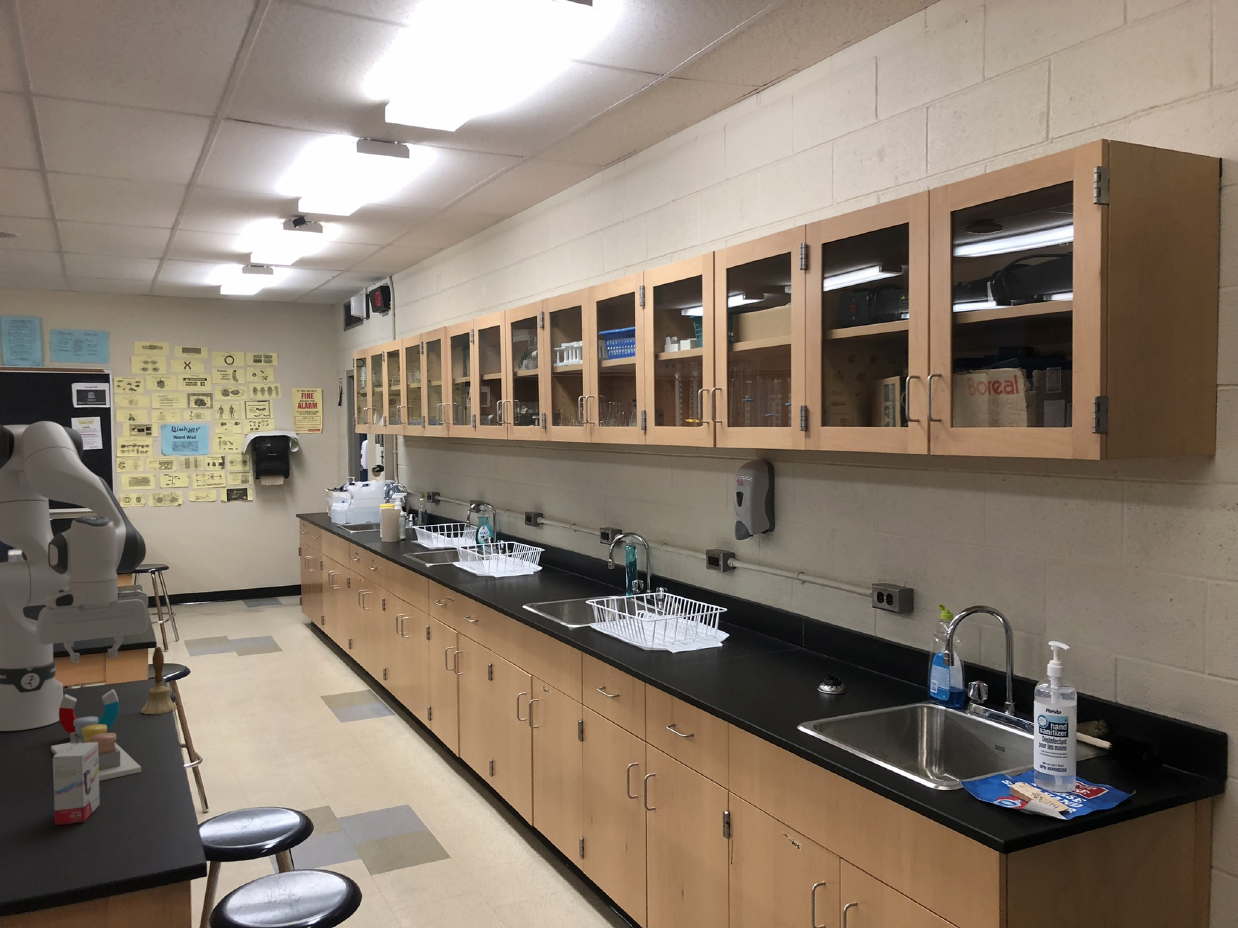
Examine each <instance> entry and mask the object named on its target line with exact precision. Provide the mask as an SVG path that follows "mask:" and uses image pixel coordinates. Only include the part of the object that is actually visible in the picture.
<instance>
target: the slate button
mask: <svg viewBox="0 0 1238 928" xmlns="http://www.w3.org/2000/svg"><path fill="white" fill-rule="evenodd" d="M98 719H99V717H98V716H83V717H77V719H75V720H74V727H75V735H76V736H77V737H82V736H83V735H82V728H84V727H86V726H90V725H97V724H98Z"/></svg>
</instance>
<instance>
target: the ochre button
mask: <svg viewBox="0 0 1238 928" xmlns="http://www.w3.org/2000/svg"><path fill="white" fill-rule="evenodd" d="M102 733H108V730H107V725H104V724H98V725H90V726H86V727H84V728H82V735H83V743H90V737H92V736H94V735H97V734H102Z"/></svg>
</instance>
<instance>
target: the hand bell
mask: <svg viewBox="0 0 1238 928" xmlns="http://www.w3.org/2000/svg"><path fill="white" fill-rule="evenodd" d="M163 653H164V652H163V651H162V647H160V646H156V647H154V651H153V653H152V657H151V658H152V667H153V670H154V687H152V688H151V689H149V690H148V695H147V700H146V702H145V705H144V706H143V707H142V708H141V710H140V711H141V712H140V714H142V713H144V714H143V715H146V714H156V715H162V714H167V713H172V712H174V711H176V710H177V709H178V706H177V705H176V704H175V703H174V702H173V700H172V698H171V694H170V689H169V687H167V686H164V682H163V668H164V665H165V664H164V663H165V656H164V654H163ZM171 709H172V712H171Z"/></svg>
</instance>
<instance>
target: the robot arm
mask: <svg viewBox="0 0 1238 928" xmlns="http://www.w3.org/2000/svg"><path fill="white" fill-rule="evenodd" d="M83 453H84V442H83V438H82V435H81V434H80V433H79V431H78V430H77V429H74V428H72V427H68V426H64V425H63V426H62V425H60V424H59V423H56V422H54V421H49V420H48V421H47V420H41V421H37V422H34V423H31V424H8V425H2V424H0V542H1V543H3V544H4V545H5V544H6V545H7V546H10V547H12V548H16V549H18V550H20V551H22V552H23V553H24V555H25V556H26V560H17V561H2V562H0V732H13V731H23V730H29V729H36V728H41V727H45V726H49V725H52V724H54V723H57V722H60V720H59V708H60V705H61V702H62V699H63V697H64V690H63V689H64V687H63V683H62V682H60V681H59V680H57V679H56V678H55V677H56V669H57V667H56V661H54V645H55V644H63V647H64V649H66V651H67V652H68V654H69V661H70V664H78V663H81V659H80V658H81V654H80V653H79V652H74V649H72V648H73V647H74V646H75V645H74V644H75V643H74V642H78V641H79V642H80V641H86V640H87V641H89V640H95V639H96V640H97V639H106V638H112V637H113V640H114V641H115V642H114V644H113V645H112V648H107V658H108V659H115V658H118V649H119V648H120V647H121V646H122V643H123V642H124V636H128V635H129V636H130V635H131V636H132V635H138V634H144V633H146V631H148V630H149V621H148V619H149V618H148V614H147V612H148V611H147V608H148V607H149V596H148V595H147V593H145V592H144V591H141V590H140V589H139V590H138V589H136V590H135V589H134V590H131V591H130V590H129V591H128V590H127V591H126V590H124V591H119V589H118V585H119V584H118V582H119V578H118V573H119V574H121V573H122V574H125V573H126V574H127V573H128V574H129V573H132V572H133V571H134V570H136V569H137V568H138V567H140V565H141V564H142V563H143V562H144V560H145V558H146V554H147V549H146V548H147V547H146V543H145V539H144V537H143V535H142V534H141V533H140V531H139V530H137V528H136V527H135V526H134V525H133V523H132V522H131V521H130V519H129V517H128V516H127V514H126V513H125V511H124V508H123V507H122V506H121V504H120V502H119V500H118V499H117V498H116V496H115V494H114V492H113V491H112V489H111V488H110V486H109V485H108V483H107V482H106V481H105V479H103V478H102V477H101V476H99V475H96V474H95V473H94V472H92V471H91V470H90V469H88V467H87V466H85V464H84V463H83V462H82V458H83V455H84V454H83ZM49 500H52V501H56V502H62V503H68V504H73V505H77V506H80V507H84V508H85V509H86V508H87V509H89V510H91V512H94V514H95V515H82V516H79V517H76V518H74V519H73V520H72V521H71V524H70V528H69V529H68V530H66V531H64V532H59V533H58V534H56V535H55V536H54V533H53V530H52V525H51V516H50V505H49V503H50V502H49ZM44 605H45V607H42V609H41V610H40V611H39V613H38V618H37V620H36V619H32V618H29V617H26V616H25V614H24V608H26V607H35V606H44Z"/></svg>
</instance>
